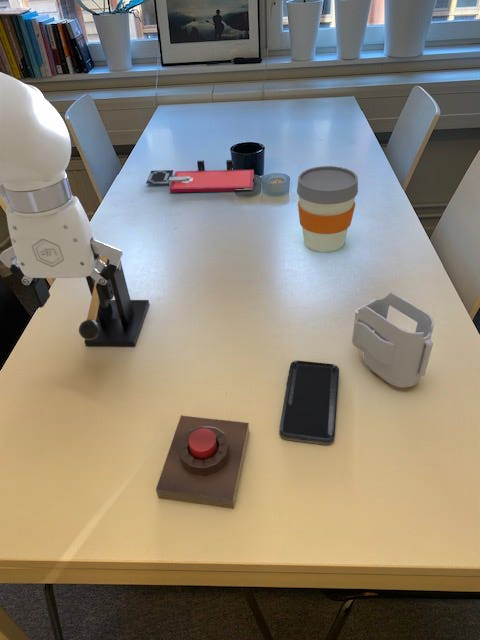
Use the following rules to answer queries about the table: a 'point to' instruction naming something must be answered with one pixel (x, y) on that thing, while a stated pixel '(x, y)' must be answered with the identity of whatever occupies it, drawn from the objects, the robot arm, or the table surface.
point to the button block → (204, 464)
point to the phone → (310, 403)
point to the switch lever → (92, 314)
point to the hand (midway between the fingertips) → (75, 302)
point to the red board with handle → (204, 179)
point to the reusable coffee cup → (326, 206)
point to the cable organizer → (393, 341)
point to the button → (202, 443)
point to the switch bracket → (118, 315)
